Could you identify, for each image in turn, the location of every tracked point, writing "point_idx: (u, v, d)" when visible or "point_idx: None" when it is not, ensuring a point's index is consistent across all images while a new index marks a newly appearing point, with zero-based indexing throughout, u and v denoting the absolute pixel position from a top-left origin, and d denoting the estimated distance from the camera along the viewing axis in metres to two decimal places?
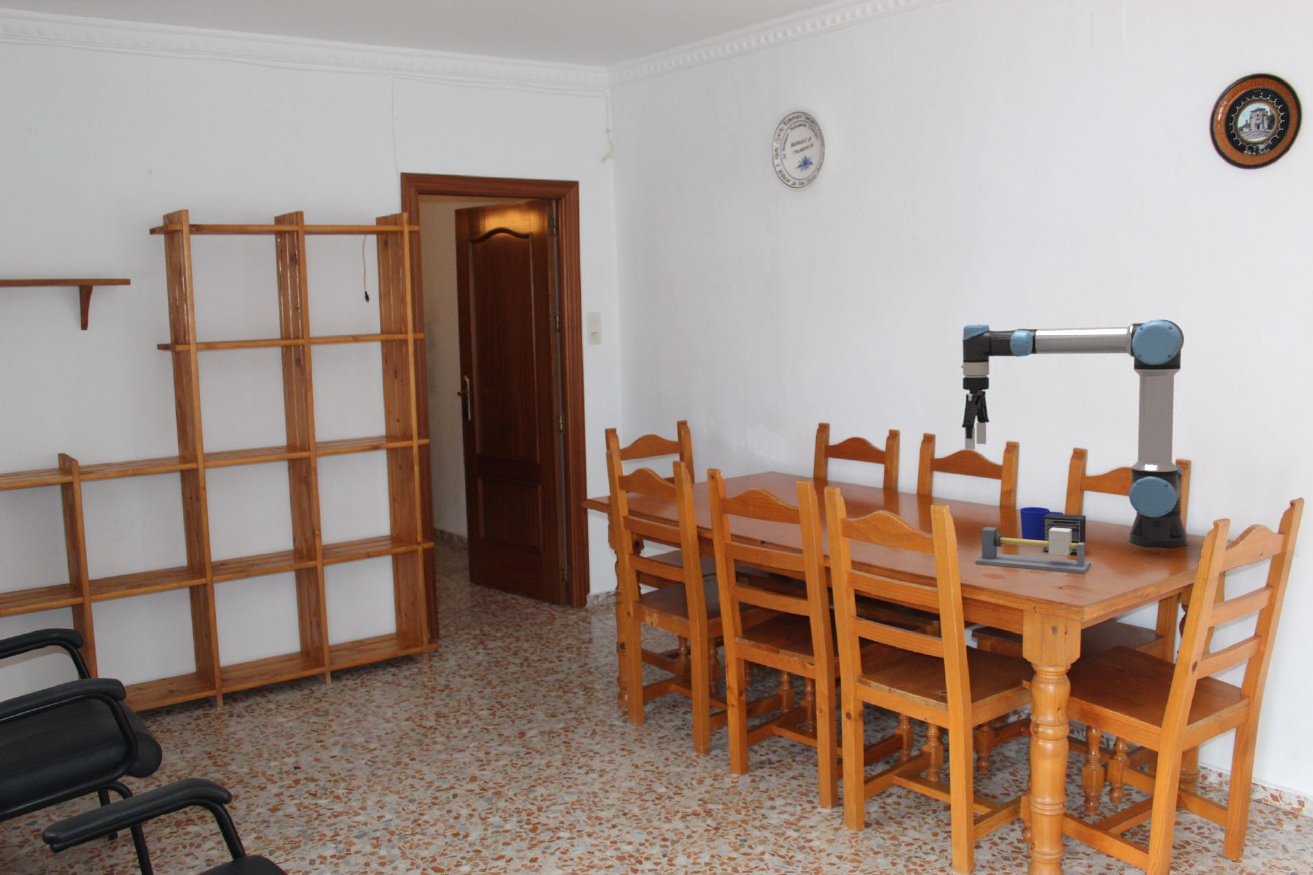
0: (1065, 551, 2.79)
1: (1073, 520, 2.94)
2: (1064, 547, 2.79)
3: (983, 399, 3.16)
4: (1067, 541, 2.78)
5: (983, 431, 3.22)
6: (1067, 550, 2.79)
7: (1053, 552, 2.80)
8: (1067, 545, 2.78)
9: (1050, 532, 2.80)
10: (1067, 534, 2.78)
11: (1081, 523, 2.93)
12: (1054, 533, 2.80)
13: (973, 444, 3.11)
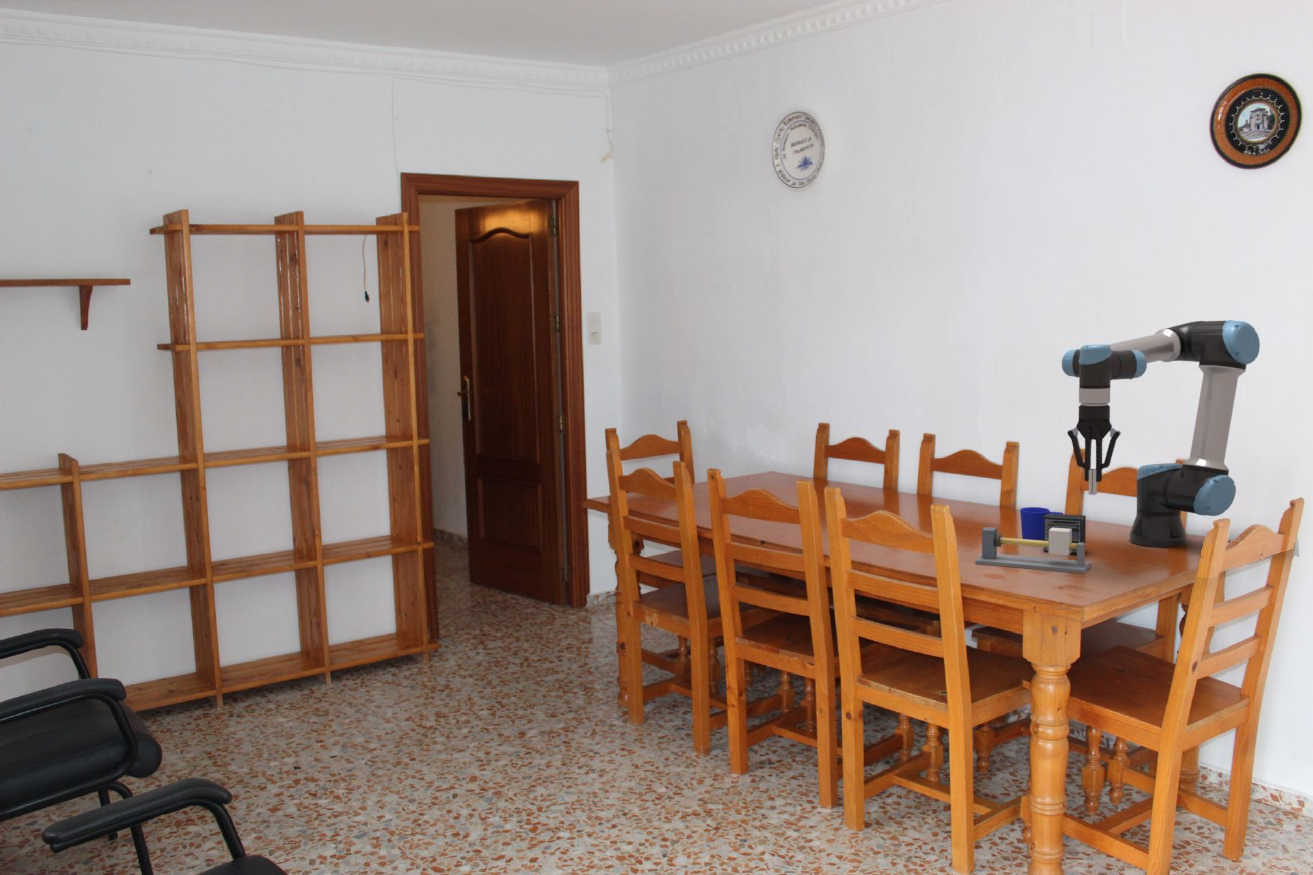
0: (1065, 551, 2.79)
1: (1073, 520, 2.94)
2: (1064, 547, 2.79)
3: (1096, 431, 2.72)
4: (1067, 541, 2.78)
5: (1093, 479, 2.75)
6: (1067, 550, 2.79)
7: (1053, 552, 2.80)
8: (1067, 545, 2.78)
9: (1050, 532, 2.80)
10: (1067, 534, 2.78)
11: (1081, 523, 2.93)
12: (1054, 533, 2.80)
13: (1089, 488, 2.75)
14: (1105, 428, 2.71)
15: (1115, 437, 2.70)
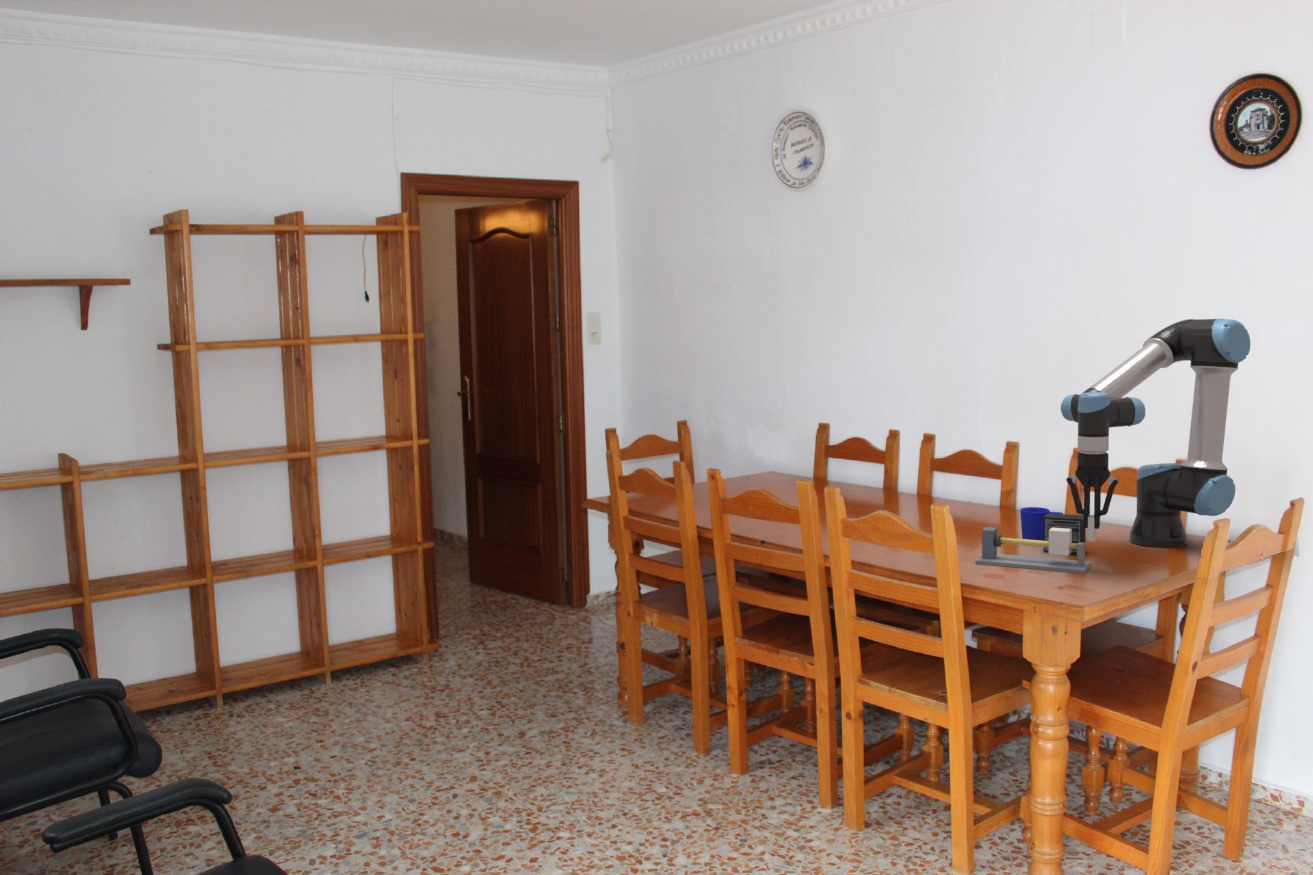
0: (1065, 551, 2.79)
1: (1073, 520, 2.94)
2: (1064, 547, 2.79)
3: (1095, 479, 2.73)
4: (1067, 541, 2.78)
5: None
6: (1067, 550, 2.79)
7: (1053, 552, 2.80)
8: (1067, 545, 2.78)
9: (1050, 532, 2.80)
10: (1067, 534, 2.78)
11: (1081, 523, 2.93)
12: (1054, 533, 2.80)
13: (1088, 535, 2.76)
14: (1104, 476, 2.73)
15: (1113, 485, 2.72)
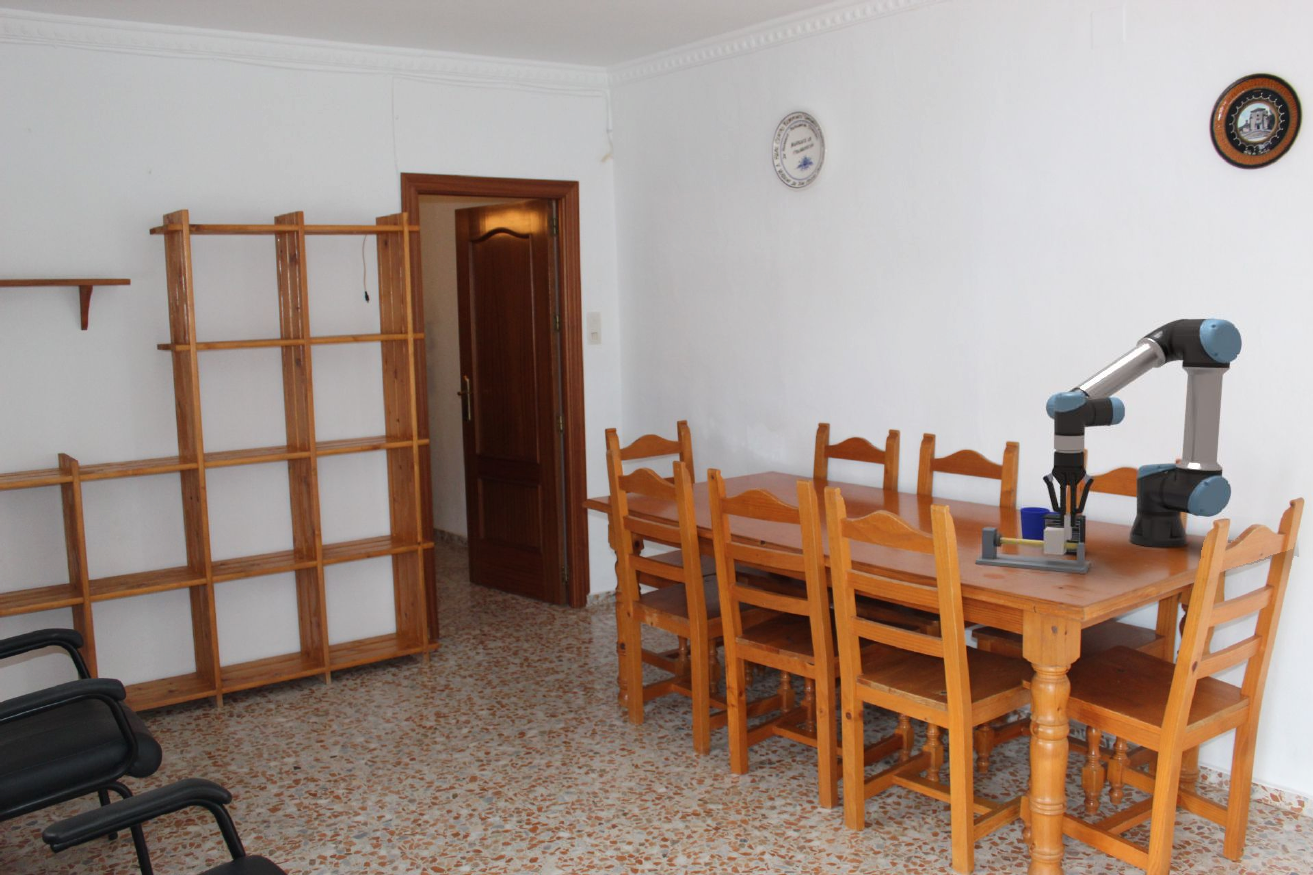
0: (1060, 551, 2.79)
1: None
2: (1059, 547, 2.79)
3: (1071, 477, 2.76)
4: (1062, 541, 2.79)
5: None
6: (1062, 550, 2.79)
7: (1048, 552, 2.81)
8: (1062, 545, 2.79)
9: (1045, 532, 2.81)
10: (1062, 534, 2.79)
11: (1081, 523, 2.93)
12: (1049, 533, 2.80)
13: (1064, 533, 2.79)
14: (1079, 474, 2.76)
15: (1089, 483, 2.75)
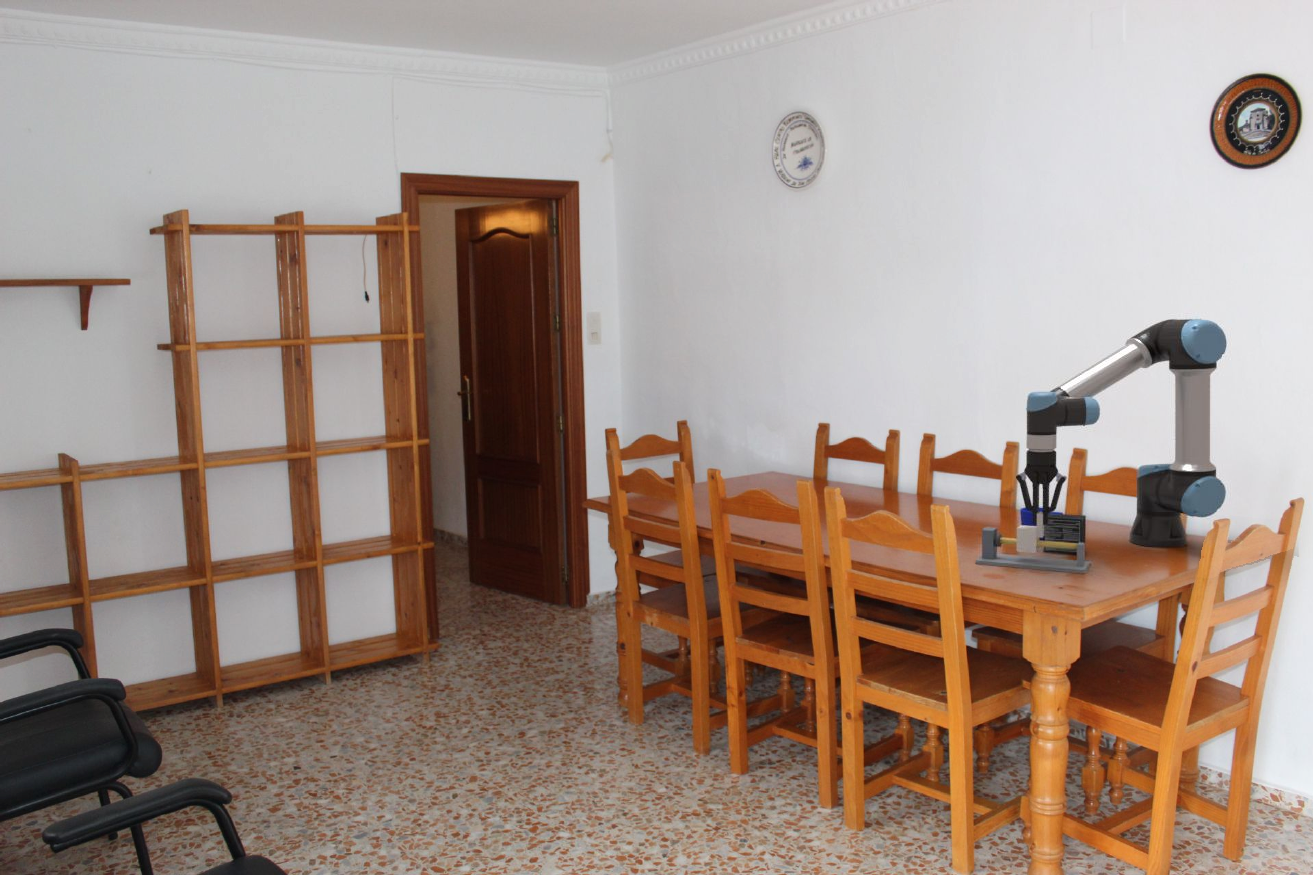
0: (1033, 548, 2.83)
1: (1073, 520, 2.94)
2: (1032, 544, 2.83)
3: (1043, 476, 2.80)
4: (1034, 538, 2.82)
5: None
6: (1034, 547, 2.83)
7: (1021, 549, 2.85)
8: (1034, 542, 2.83)
9: (1018, 530, 2.84)
10: (1034, 532, 2.82)
11: (1081, 523, 2.93)
12: (1022, 531, 2.84)
13: (1037, 531, 2.83)
14: (1051, 473, 2.79)
15: (1061, 482, 2.78)
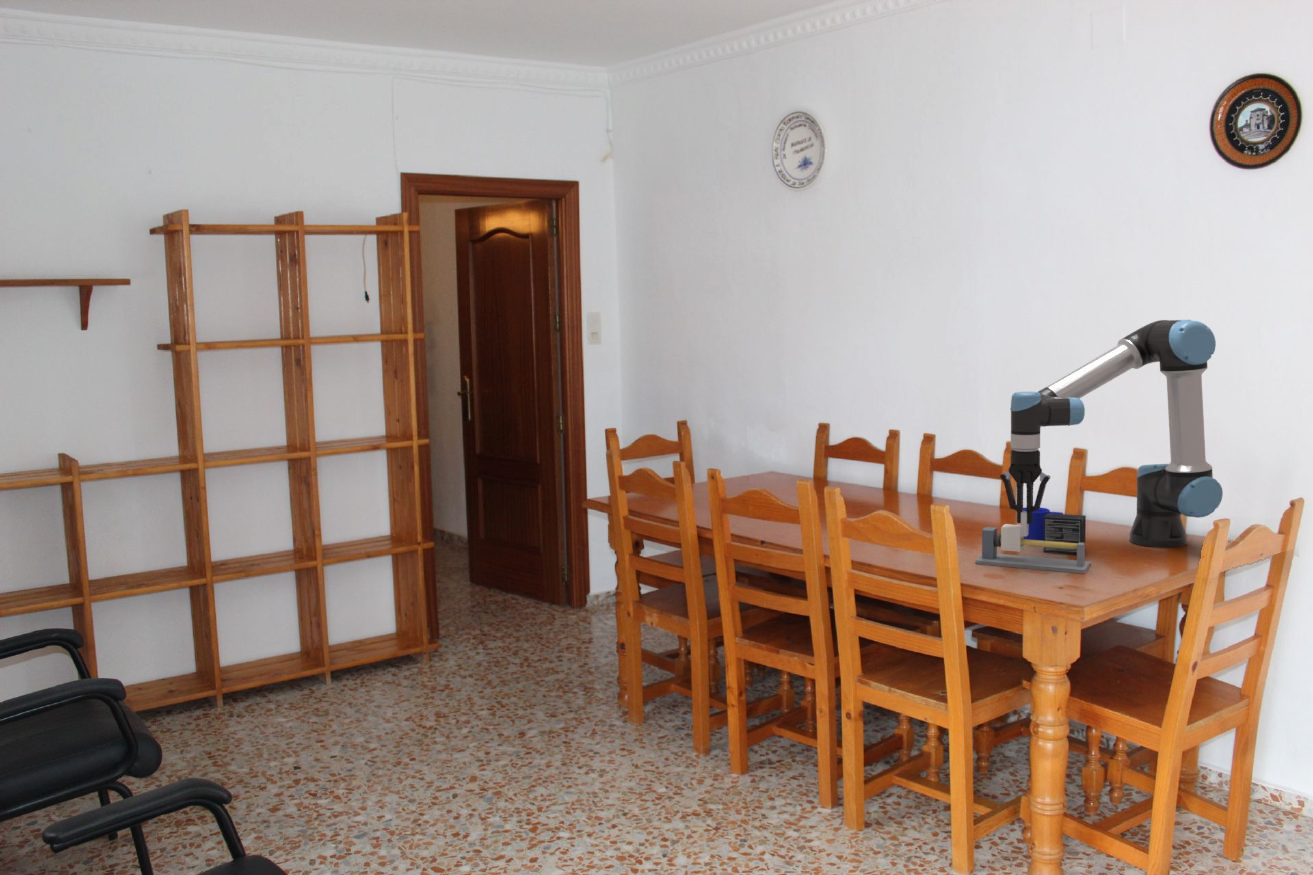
0: (1017, 547, 2.85)
1: (1073, 520, 2.94)
2: (1016, 543, 2.85)
3: (1027, 475, 2.82)
4: (1019, 537, 2.85)
5: None
6: (1019, 546, 2.85)
7: (1005, 548, 2.87)
8: (1019, 541, 2.85)
9: (1002, 528, 2.87)
10: (1018, 530, 2.84)
11: (1081, 523, 2.93)
12: (1006, 529, 2.86)
13: (1021, 530, 2.85)
14: (1035, 472, 2.81)
15: (1044, 481, 2.80)
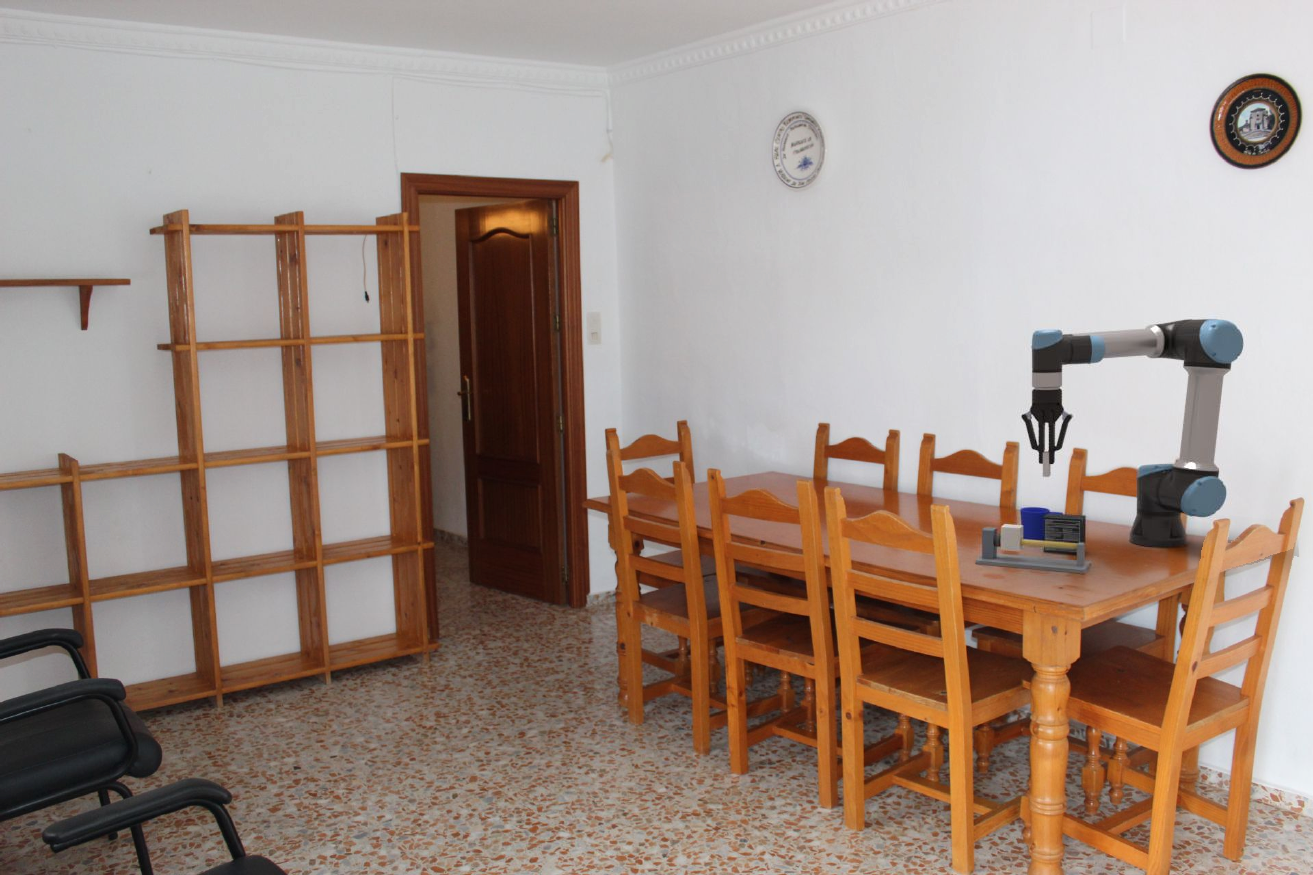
0: (1016, 547, 2.85)
1: (1073, 520, 2.94)
2: (1015, 543, 2.85)
3: (1049, 414, 2.78)
4: (1018, 537, 2.85)
5: None
6: (1018, 546, 2.85)
7: (1005, 548, 2.87)
8: (1018, 541, 2.85)
9: (1002, 528, 2.87)
10: (1018, 530, 2.84)
11: (1081, 523, 2.93)
12: (1006, 529, 2.86)
13: (1043, 470, 2.81)
14: (1057, 411, 2.77)
15: (1067, 420, 2.76)
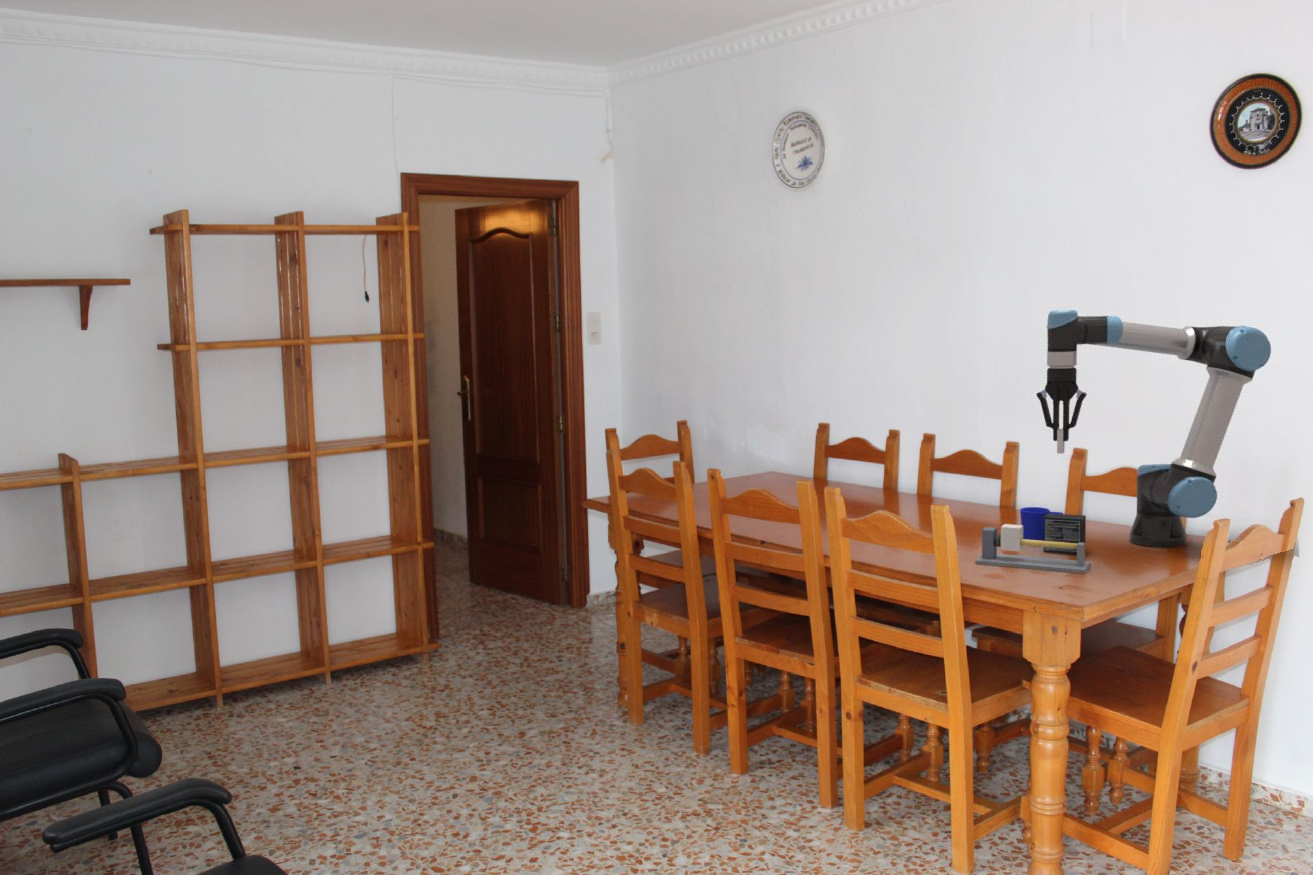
0: (1016, 547, 2.85)
1: (1073, 520, 2.94)
2: (1015, 543, 2.85)
3: (1063, 393, 2.85)
4: (1018, 537, 2.85)
5: None
6: (1018, 546, 2.85)
7: (1005, 548, 2.87)
8: (1018, 541, 2.85)
9: (1002, 528, 2.87)
10: (1018, 530, 2.84)
11: (1081, 523, 2.93)
12: (1006, 529, 2.86)
13: (1057, 447, 2.88)
14: (1072, 389, 2.85)
15: (1081, 398, 2.84)
